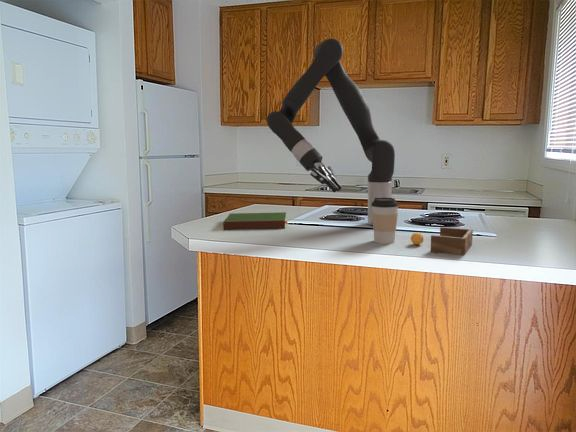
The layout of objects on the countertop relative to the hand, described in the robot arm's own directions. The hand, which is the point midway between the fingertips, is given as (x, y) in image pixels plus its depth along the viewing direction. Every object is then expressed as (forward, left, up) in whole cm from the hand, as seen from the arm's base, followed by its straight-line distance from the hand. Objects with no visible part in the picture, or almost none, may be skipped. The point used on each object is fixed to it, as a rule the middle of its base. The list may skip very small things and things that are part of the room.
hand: (338, 190), depth 165 cm
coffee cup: (0, +17, -17) cm, 24 cm away
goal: (0, +39, -17) cm, 42 cm away
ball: (0, +28, -17) cm, 33 cm away
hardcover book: (-8, -40, -18) cm, 44 cm away
